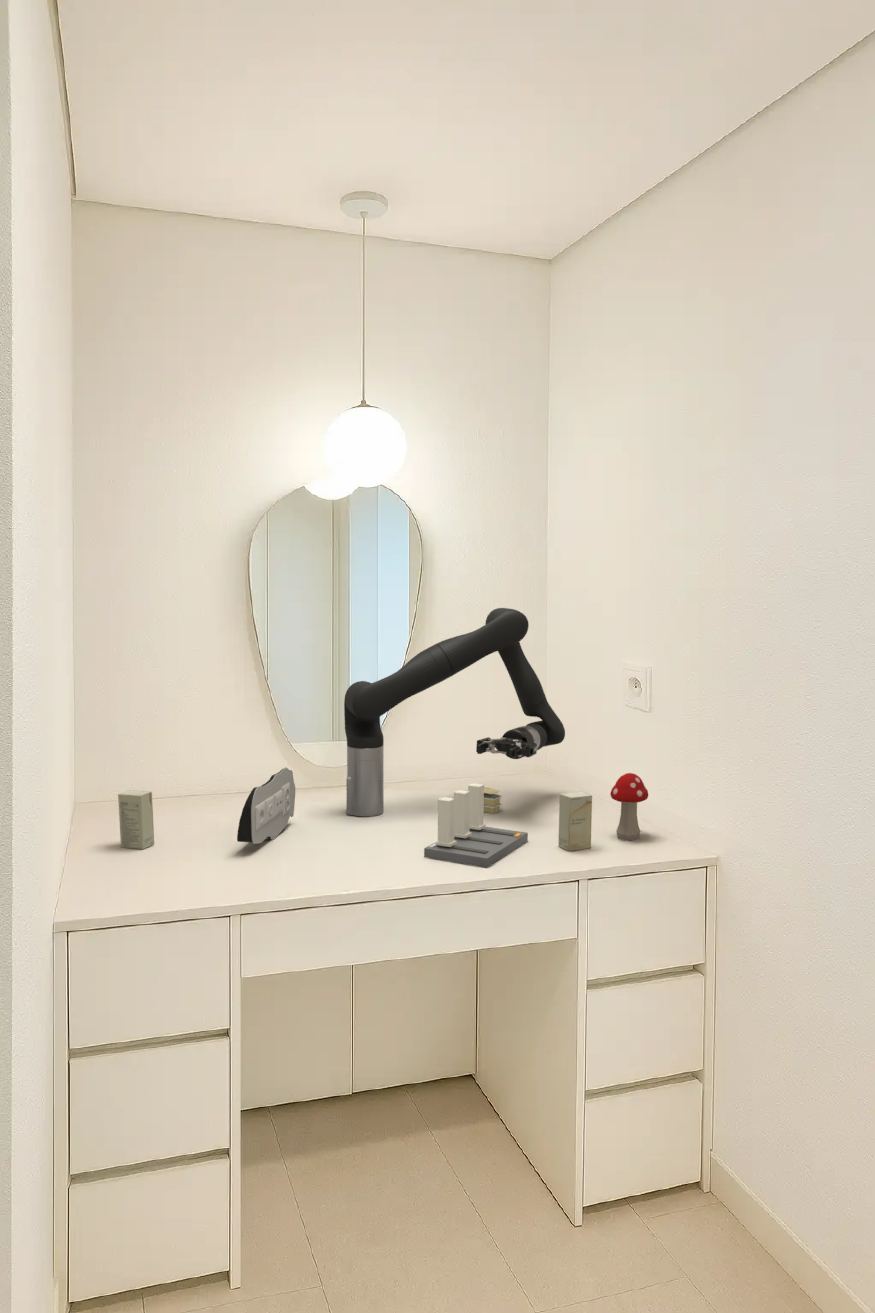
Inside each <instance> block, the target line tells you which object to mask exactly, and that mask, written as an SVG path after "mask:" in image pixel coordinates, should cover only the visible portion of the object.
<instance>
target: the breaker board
mask: <svg viewBox="0 0 875 1313" xmlns="http://www.w3.org/2000/svg"><path fill="white" fill-rule="evenodd" d="M469 827H470V791H468V790H463V789H462V790H461V789H457V790H456V791H453V798H451V797H447V796H446V797H445V796H442V797H440V798H439V799H437V841H435V842H433V843H431V844H430V845H427V846H426V847H424V849H423V857H424V858H426V859H434V860H437V861H444V862H451V863H455V864H462V865H468V866H475V867H481V868H485V869H486V868H487V869H488V868H489V867H491V866H493V865H494V864H495V863H497V862H498V861H500V860H501V859H502V858H504V857H506V856H507V855H509V854H510V853H513V851H515V850H517V849H518V848H520V847H521V846H523V845H524V844H526V843H527V842H528V841H529V839H528V838H529V837H528V835H529V834H528V832H524V831H520V830H519V831H517V830H511V829H507V828H506V829H505V828H497V827H493V826H492V827H491V826H486V827H485V828H483V829H481V830H475V829H469Z"/></svg>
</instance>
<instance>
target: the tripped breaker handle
mask: <svg viewBox="0 0 875 1313" xmlns="http://www.w3.org/2000/svg"><path fill="white" fill-rule="evenodd" d="M467 786H468V788H467V791H470V827H469V829H475V830H481V829H483V828H485V827H487V826H486V824H485V823H484V818H485V817H484V815H485V814H484V813H485V812H484V787H485V784H483V783H470V784H468V785H467Z"/></svg>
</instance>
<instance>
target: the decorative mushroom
mask: <svg viewBox="0 0 875 1313" xmlns="http://www.w3.org/2000/svg"><path fill="white" fill-rule="evenodd" d="M610 798H611V799H612V800H613V801H616V802H619V803H620V817H619V821H618V826H617V827H616V835H617V838H618V839H620V840H623V841H634V840H637V839H639V837H640V834H641V829H640V826H639V825H640V824H639V820H638V803H641V802H642V803H643V801H644V802H645V801H646V800H647V799H648V798H649V790H648V789H647V788H646V785H645V784H644V782H643V780H642V778H641V777H640V776H639V775H637V774H636V773H632V772H626V773H623V774H622V775H621V776H619V778H618V779H617V780H616V782H615V784H614V785H613V786H612V787H611V791H610Z"/></svg>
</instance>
